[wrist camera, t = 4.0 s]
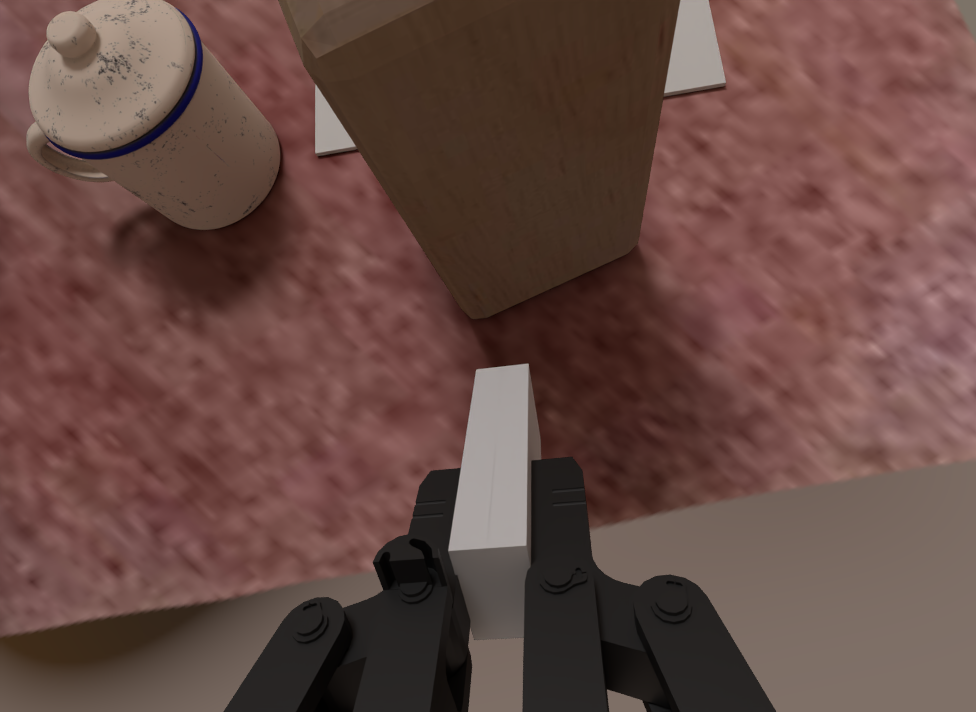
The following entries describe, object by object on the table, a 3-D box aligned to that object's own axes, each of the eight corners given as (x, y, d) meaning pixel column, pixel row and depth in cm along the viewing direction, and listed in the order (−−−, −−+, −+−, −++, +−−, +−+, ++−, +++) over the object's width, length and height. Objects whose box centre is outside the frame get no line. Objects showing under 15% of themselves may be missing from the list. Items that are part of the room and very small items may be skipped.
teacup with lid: (275, 89, 38) (146, -84, 27) (297, 210, 36) (164, 75, 25) (109, 146, 39) (-81, 3, 28) (118, 268, 37) (-87, 163, 26)
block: (644, 253, 31) (725, -143, 12) (472, 331, 32) (295, 67, 13) (565, 110, 34) (532, -388, 15) (409, 184, 35) (189, -210, 16)
